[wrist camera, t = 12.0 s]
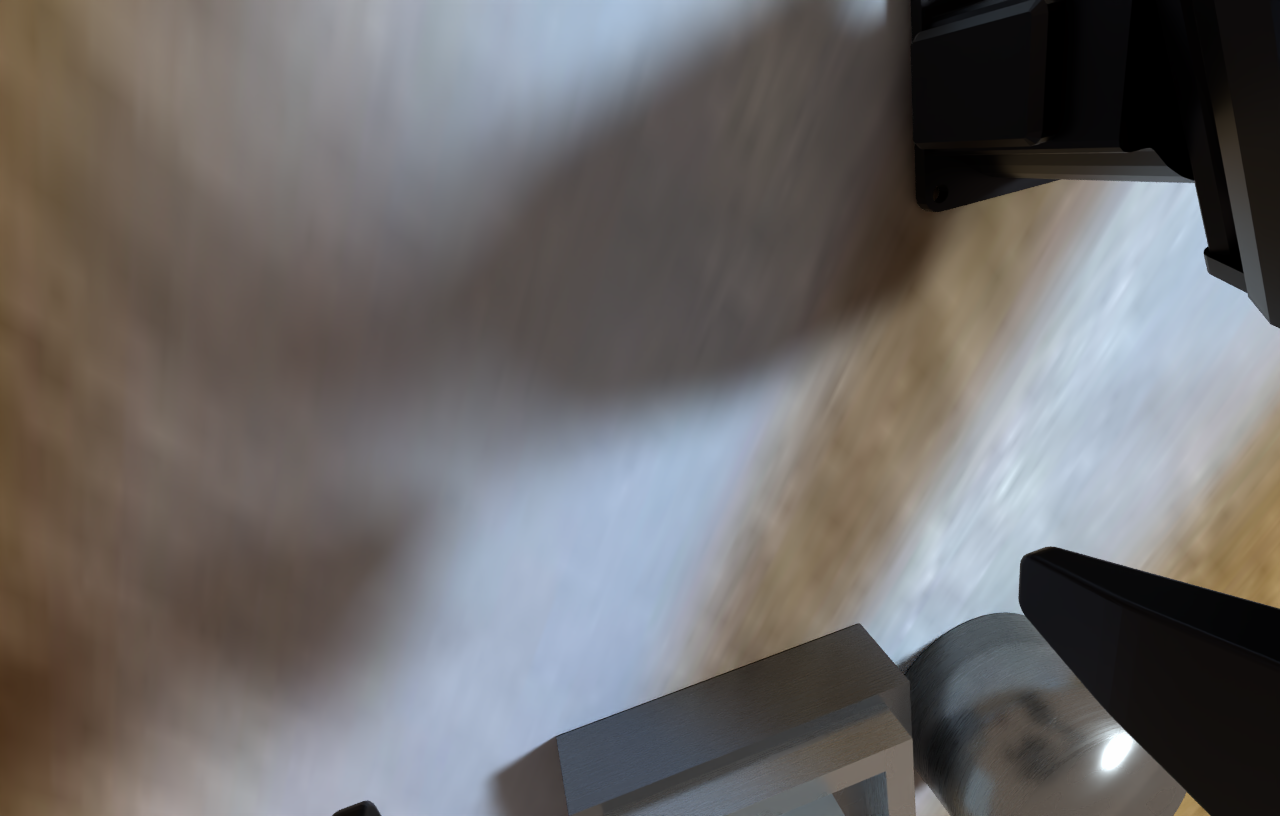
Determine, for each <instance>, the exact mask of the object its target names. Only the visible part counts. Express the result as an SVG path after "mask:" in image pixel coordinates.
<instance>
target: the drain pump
mask: <svg viewBox="0 0 1280 816" xmlns="http://www.w3.org/2000/svg"><path fill="white" fill-rule="evenodd" d="M779 816H845V815H844V813H843V812H842V810H841V808H840V806H839V805H838V803H837V801H836V800H835V798H834V796H833V794H829V795H827V796H825V797H822V798H820V799H817V800H815V801H813V802H810V803H808V804H805V805H803V806H801V807H798V808H796V809H793V810H791V811H789V812H786V813H784V814H781V815H779Z"/></svg>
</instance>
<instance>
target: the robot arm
mask: <svg viewBox="0 0 1280 816" xmlns="http://www.w3.org/2000/svg"><path fill="white" fill-rule="evenodd" d="M911 22H912V44H911V72H912V109H913V140H914V143H915V175H916V199H917V204H918V205H919V207H920V208H921V209H923V210H925V211H931V212H941V211H945V210H949V209H952V208H956V207H960V206H964V205H967V204H971V203H975V202H978V201H982V200H986V199H990V198H993V197H997V196H1001V195H1004V194H1008V193H1012V192H1016V191H1019V190H1023V189H1027V188H1030V187H1034V186H1038V185H1042V184H1045V183H1049V182H1053V181H1057V180H1060V179H1068V180H1104V181H1139V182H1175V183H1195V187H1196V192H1197V196H1198V201H1199V206H1200V210H1201V215H1202V220H1203V224H1204V229H1205V234H1206V238H1207V243H1208V247H1207V248H1206V249H1205V250H1204V257H1205V262H1206V266H1207V271H1208V273H1209V274H1211V275H1213V276H1215V277H1217V278H1219V279H1221V280H1223V281H1225V282H1226V283H1228V284H1230V285H1232V286H1234V287H1236V288H1238V289H1240V290H1242V291H1244V292H1246V293H1248V297H1249V298H1250V300H1251V301H1252V302H1253V303H1254V304H1255V306H1256V307H1257V308H1258V309H1259V311H1260V312H1261V313H1262V314H1263V316H1264V317H1265V318H1266V319H1267V320H1268V322H1269V323H1270V324H1272V325H1274V326H1276V327H1278V328H1280V0H911ZM937 186H938V189H939V194H938V197H937V198H936V200H935V201H934V199H933V191H934V190H935V188H936V187H937ZM1019 604H1020V607H1021V609H1022V611H1023V613H1024V615H1025V616H1026V618H1027V619H1028V620H1029V621H1030V623H1031V624H1032V625H1033V626H1034V627H1035V629H1036V630H1037V631H1038V632H1039V633H1040V634H1041V636H1042V637H1043V638H1044V639H1045V640H1046V641H1047V643H1048V644H1049V645H1050V646H1051V647H1052V649H1053V650H1054V651H1055V652H1056V653H1057V654H1058V656H1059V657H1060V658H1061V659H1062V660H1063V661H1064V663H1065V664H1066V665H1067V666H1068V667H1069V669H1070V670H1071V671H1072V672H1073V673H1074V674H1075V676H1076V677H1077V678H1078V679H1079V680H1080V681H1081V683H1082V684H1083V685H1084V686H1085V687H1086V689H1087V690H1088V691H1089V692H1090V693H1091V694H1092V696H1093V697H1094V698H1095V699H1096V700H1097V701H1098V702H1099V703H1100V705H1101V706H1102V707H1103V708H1104V709H1105V710H1106V711H1107V712H1108V713H1109V715H1110V716H1111V717H1112V718H1113V719H1114V720H1115V721H1116V722H1117V723H1118V724H1119V725H1120V726H1121V727H1122V728H1123V729H1124V730H1125V731H1126V732H1127V733H1128V734H1129V735H1130V736H1131V737H1132V738H1133V739H1134V740H1135V741H1136V742H1137V743H1138V744H1139V745H1140V746H1141V747H1142V748H1143V749H1144V750H1145V751H1146V752H1147V753H1148V754H1149V755H1150V756H1151V757H1152V758H1153V759H1154V760H1155V761H1156V762H1157V763H1158V764H1159V765H1160V766H1161V767H1162V768H1163V769H1164V770H1165V771H1166V772H1167V773H1168V774H1169V775H1170V776H1171V777H1172V778H1173V779H1174V780H1175V781H1176V782H1177V783H1178V784H1179V785H1180V786H1181V787H1182V788H1183V789H1184V790H1185V791H1186V792H1187V793H1188V794H1189V795H1190V796H1191V797H1192V798H1193V799H1194V800H1195V801H1196V802H1197V803H1198V804H1199V805H1200V806H1201V807H1203V808H1204V809H1205V810H1206V811H1207V812H1208V813H1209V814H1210V815H1211V816H1280V609H1279V608H1275V607H1271V606H1268V605H1264V604H1261V603H1257V602H1253V601H1250V600H1246V599H1242V598H1239V597H1235V596H1232V595H1228V594H1224V593H1221V592H1217V591H1213V590H1210V589H1206V588H1203V587H1199V586H1195V585H1192V584H1188V583H1184V582H1181V581H1177V580H1174V579H1170V578H1166V577H1163V576H1159V575H1155V574H1152V573H1148V572H1145V571H1141V570H1137V569H1134V568H1130V567H1126V566H1123V565H1119V564H1115V563H1112V562H1108V561H1105V560H1101V559H1097V558H1094V557H1090V556H1086V555H1083V554H1079V553H1076V552H1072V551H1068V550H1065V549H1061V548H1057V547H1045V548H1042V549H1039V550H1036V551H1034V552H1031V553H1028V554H1026V555H1025V556H1023V558H1022V559H1021V563H1020V578H1019ZM332 816H381V814H380V813H379V811H378V809H377V807H376V806H375V805H374V804H373V803H372V802H371V801H363V802H360V803H357V804H354V805H352V806H349V807H346V808H344V809H341V810H339V811H337V812H336V813H334V814H333V815H332Z"/></svg>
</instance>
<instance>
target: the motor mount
mask: <svg viewBox="0 0 1280 816" xmlns="http://www.w3.org/2000/svg"><path fill="white" fill-rule="evenodd" d="M556 739H557V745H558V751H559V758H560V764H561V770H562V776H563V783H564V789H565V795H566V802H567V808H568V814H569V816H779V815H781V814H784V813H786V812H789V811H791V810H793V809H796V808H798V807H801V806H803V805H805V804H808V803H810V802H813V801H815V800H817V799H820V798H822V797H825V796H827V795H829V794H833V796H834V798H835V800H836V801H837V803H838V805H839V806H840V808H841V810H842V812H843V813H844V815H845V816H916V812H915V788H914V767H915V769H916V770H917V771H918V773H919V774H920V775H921V777H922V778H923V780H924V781H925V782H926V784H927V785H928V786H929V788H930V789H931V790H932V792H933V793H934V794H935V796H936V797H937V798H938V800H939V801H940V802H941V804H942V805H943V806H944V808H945V809H946V810H947V812H948V813H949V815H950V816H1173V815H1174V814H1175V812H1176V811H1177V809H1178V807H1179V806H1180V804H1181V802H1182V800H1183V798H1184V796H1185V794H1186V791H1185V790H1184V789H1183V788H1182V787H1181V786H1180V785H1179V784H1178V783H1177V782H1176V781H1175V780H1174V779H1173V778H1172V777H1171V776H1170V775H1169V774H1168V773H1167V772H1166V771H1165V770H1164V769H1163V768H1162V767H1161V766H1160V765H1159V764H1158V763H1157V762H1156V761H1155V760H1154V759H1153V758H1152V757H1151V756H1150V755H1149V754H1148V753H1147V752H1146V751H1145V750H1144V749H1143V748H1142V747H1141V746H1140V745H1139V744H1138V743H1137V742H1136V741H1135V740H1134V739H1133V738H1132V737H1131V736H1130V735H1129V734H1128V733H1127V732H1126V731H1125V730H1124V729H1123V728H1122V727H1121V726H1120V725H1119V724H1118V723H1117V722H1116V721H1115V720H1114V719H1113V718H1112V717H1111V716H1110V715H1109V713H1108V712H1107V711H1106V710H1105V709H1104V708H1103V707H1102V706H1101V705H1100V703H1099V702H1098V701H1097V700H1096V699H1095V698H1094V697H1093V696H1092V694H1091V693H1090V692H1089V691H1088V690H1087V689H1086V687H1085V686H1084V685H1083V684H1082V683H1081V681H1080V680H1079V679H1078V678H1077V677H1076V676H1075V674H1074V673H1073V672H1072V671H1071V670H1070V669H1069V667H1068V666H1067V665H1066V664H1065V663H1064V661H1063V660H1062V659H1061V658H1060V657H1059V656H1058V654H1057V653H1056V652H1055V651H1054V650H1053V649H1052V647H1051V646H1050V645H1049V644H1048V643H1047V641H1046V640H1045V639H1044V638H1043V637H1042V636H1041V634H1040V633H1039V632H1038V631H1037V630H1036V629H1035V627H1034V626H1033V625H1032V624H1031V623H1030V621H1029V620H1028V619H1027V618H1026V616H1024V615H1020V614H1016V613H997V614H991V615H986V616H982V617H979V618H976V619H973V620H971V621H969V622H966V623H964V624H962V625H960V626H958V627H956V628H955V629H953V630H951V631H949V632H948V633H947V634H945V635H944V636H942V637H941V638H939V639H938V640H937V641H936V642H934V643H933V644H932V645H931V646H930V647H929V648H928V649H926V650H925V651H924V652H923V653H922V654H921V655H920V656H919V658H918V659H917V660H916V661H915V662H914V663H913V665H912V666H911V667H910V669H909V670H908V671H907V673H906V674H905V675H904V674H903V673H902V672H901V671H900V670H899V668H898V667H897V666H896V665H895V664H894V663H893V661H892V660H891V659H890V658H889V657H888V656H887V654H886V653H885V652H884V651H883V650H882V649H881V647H880V646H879V645H878V644H877V643H876V642H875V640H874V639H873V638H872V637H871V636H870V635H869V633H868V632H867V631H866V630H865V629H864V628H863V626H862V625H861V624H857V625H854V626H852V627H849V628H846V629H844V630H841V631H838V632H836V633H833V634H830V635H828V636H825V637H822V638H820V639H817V640H814V641H812V642H809V643H806V644H804V645H801V646H798V647H796V648H793V649H790V650H788V651H785V652H782V653H780V654H777V655H774V656H772V657H769V658H766V659H764V660H761V661H758V662H755V663H753V664H750V665H747V666H745V667H742V668H739V669H737V670H734V671H731V672H729V673H726V674H723V675H721V676H718V677H715V678H713V679H710V680H707V681H705V682H702V683H699V684H697V685H694V686H691V687H689V688H686V689H683V690H681V691H678V692H675V693H673V694H670V695H667V696H664V697H662V698H659V699H656V700H654V701H651V702H648V703H646V704H643V705H640V706H638V707H635V708H632V709H630V710H627V711H624V712H622V713H619V714H616V715H614V716H611V717H608V718H606V719H603V720H600V721H598V722H595V723H592V724H590V725H587V726H584V727H582V728H579V729H576V730H574V731H571V732H568V733H565V734H563V735H560V736H557V737H556Z"/></svg>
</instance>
